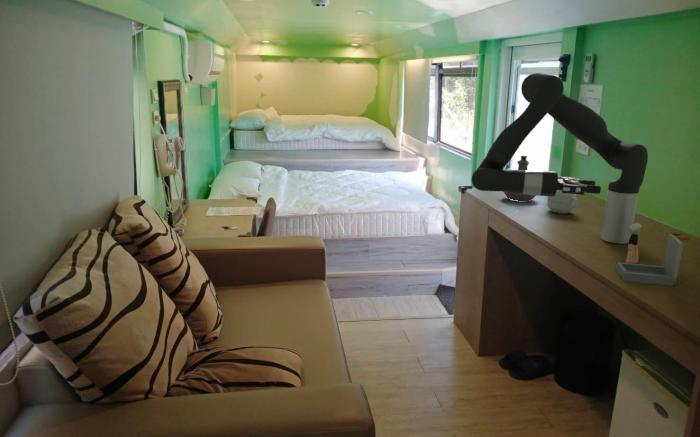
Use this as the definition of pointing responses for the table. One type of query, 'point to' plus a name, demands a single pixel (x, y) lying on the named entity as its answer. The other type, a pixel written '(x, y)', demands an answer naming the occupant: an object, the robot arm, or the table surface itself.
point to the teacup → (562, 202)
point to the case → (655, 267)
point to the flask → (517, 196)
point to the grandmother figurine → (633, 243)
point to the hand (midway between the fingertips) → (597, 187)
